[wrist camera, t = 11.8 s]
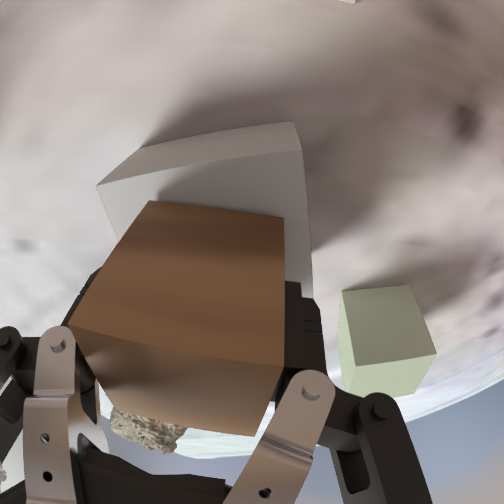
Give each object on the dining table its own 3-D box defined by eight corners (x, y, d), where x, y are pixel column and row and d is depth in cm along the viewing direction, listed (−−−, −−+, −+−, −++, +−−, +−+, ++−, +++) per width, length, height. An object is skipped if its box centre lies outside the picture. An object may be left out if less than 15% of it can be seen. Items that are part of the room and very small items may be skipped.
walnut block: (148, 200, 11) (67, 323, 6) (284, 217, 11) (283, 366, 6) (158, 295, 14) (115, 409, 9) (264, 311, 14) (254, 436, 9)
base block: (141, 146, 15) (95, 186, 11) (293, 119, 14) (302, 149, 10) (180, 264, 19) (159, 323, 15) (307, 253, 18) (314, 315, 14)
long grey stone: (297, 343, 26) (198, 288, 23) (299, 393, 21) (181, 339, 19) (157, 438, 42) (103, 413, 40) (150, 464, 38) (93, 439, 35)
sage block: (341, 290, 20) (355, 366, 15) (409, 283, 19) (436, 353, 14) (336, 336, 23) (345, 404, 18) (396, 329, 22) (413, 393, 17)
